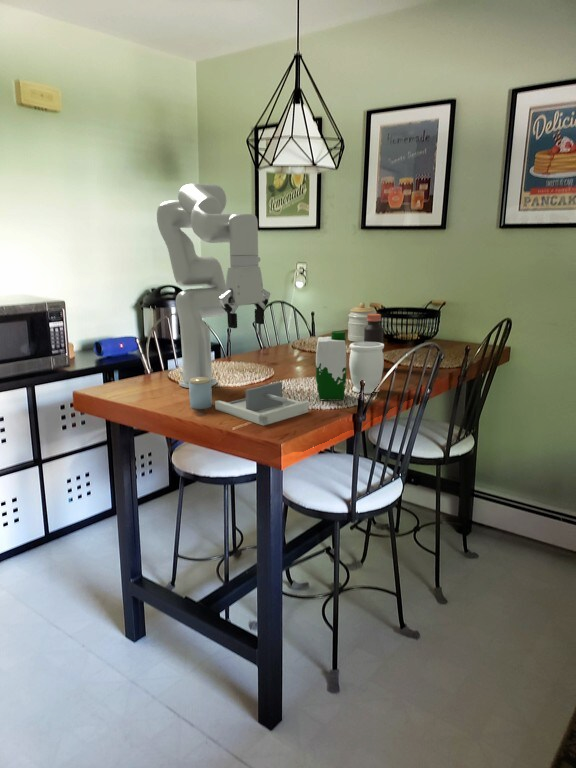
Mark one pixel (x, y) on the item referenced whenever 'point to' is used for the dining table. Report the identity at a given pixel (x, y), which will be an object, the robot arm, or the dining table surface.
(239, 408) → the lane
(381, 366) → the jar
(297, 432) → the dining table surface
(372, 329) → the bottle
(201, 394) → the glazed jar
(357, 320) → the jar
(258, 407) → the pusher
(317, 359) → the milk carton
